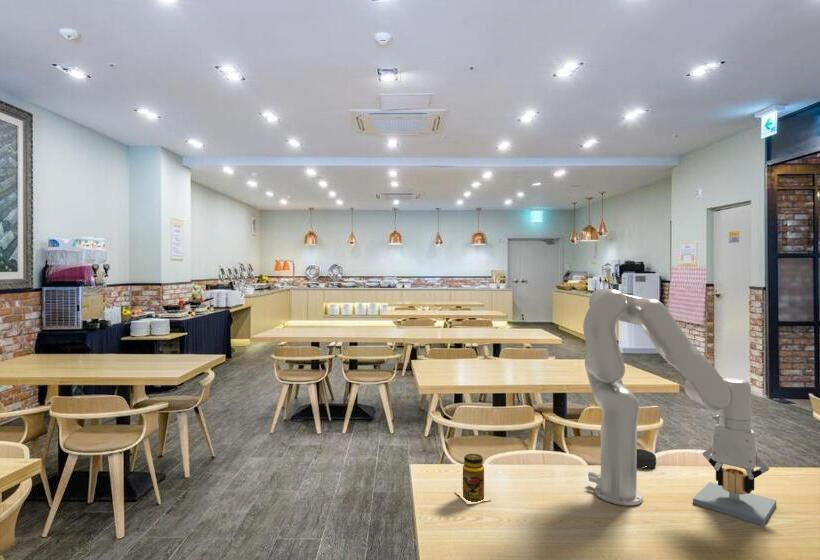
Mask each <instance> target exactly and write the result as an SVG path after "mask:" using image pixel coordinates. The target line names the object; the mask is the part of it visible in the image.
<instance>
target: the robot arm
mask: <svg viewBox="0 0 820 560" xmlns="http://www.w3.org/2000/svg"><path fill="white" fill-rule="evenodd" d="M588 304H589V308H588V309H587V312H586V314H585V315H584V316H585V317H584V320H583V324H582V325H583V327H582V330H583V336H584V340H585V344H586V349H587V353H586V355H585V356H584V357H585V358H584V367H585V371H586V374H587V379H588V381H589V385H590V389H591V393H592V396H593V399H594V401H595V403H596V404H597V405H598V407H599V408H600V409H601V410H602V411H601V413H602V416H601V424H600V474H599V473H596V472H593V471H589V472H588V475H587V477H588V481H589V482H592V483H595V484H596V486H595V488H594V494H595V495H596V496H597V498H600V499H601V500H603V501H605V502H608V503H611V504H614V505H619V506H628V507H629V506H637V505H640V504H641V503H643V500H644V497H643V493H641V491H640V490H638V489H637V487H638V486H637V481H638V480H637V478H638V477H637V475H638V474H637V472H638V471H637V468H638V467H637V449H638V447H637V445H638V444H637V441H638V440H637V438H638V437H637V436H638V435H637V434H638V423H639V415H640V405H639V402H638V399H637V397H636V396H635V395H634V393H633V392H632V391H631V390H630V389H628V388H626V387H625V386H624V384H623V383H624V382H623V377H624V376H625V373H626V367H625V362H624V359H623V356H622V353H621V350H620V346H619V343H618V340H617V339H618V338H617V335H616V324H617V322H622V323H627V324H631V325H632V324H633V325H638V326H640V327H641V329H642V330H643V332H644V333H645V335H646V336H647V337H648V339H649V340H650V341H651V343H652V344H653V347H654V348H655V349H656V351H657V352H658V354H659V355H660V356H661V357H662V358H663V359H664V361H666V362H667V363H668V364H670V365H671V366H673V367H674V368H675V369H676V370H677V371H679V373H681V374H682V375H683V377H684V378H685V379H686V381H685V382H684V385H683V388H684V391H685V393H686V395H687V396H688V397H689V399H690V398H691V400H693V401H695V402H697V403H699V404H701V405H702V406H704V407H705V408H708V409H710V410H714V411H715V410H716V411H717V415H712V417H711V418H712V419H711V420H712V421H715V422H716V423H717V424H715V425H714V428H713V432H712V441H711V447H709V448H708V449H706V450H704V452H702V456H703V458H705V459H706V460H707V461H708V463H709V464H710V465H711V466H712V467H713V469H714V470H715V481H716V482H717V484H718V485H719V486H721V485H722V482H721V469H722V468H723V465H727V466H730V467H734V468H738V469H742V470H743V469H744V471H746V472H747V475H748V478H747V479H746V492H747V493H748V494H750V493H752V491H755V479H756V478H758V477H759V476H761V475H763V474H764V473H766V472H768V471H769V470H770V467H769V465H768V464H767V463H766V462H765V461H764V460H763V459H762V458H761V457H760V456H759V454H758V446H757V444H758V443H757V439H756V433H755V431H754V430H753V429H752V387H751V383H750V382H749V381H748V380H745V379H741V378H736V377H722V376H721V374H720V373H719V372H718V371H717V369H716V368H715V366H713V364H712V363H711V362H710V361H709V359H707V358H706V357H705V356H704V355H703V354H702V352H701V351H700V350H699V349H698V348H697V347H696V346H695V345H694V344H693V343H692V342H691V340H690V339H689V337H687V335H686V334H685V332H684V330H682V328H681V327H680V325H679V324H678V322H677V321H676V319H675V318H674V317H673V315H672V314H671V312H670V311H669V310H668V308H667V307H666V306H665V304H663V302H661V301H660V300H658V299H655V298H647V297H639V296H634V295H631V294H630V295H629V294H625V293H623V292H621V291H620V290H617V289H614V288H599V289H596V290H595V291H594V292H593V293H592V294H591V295H590V297H589V300H588ZM757 465H758V466H760V467H759V468H758V469H756V470H755V468H756V467H757Z"/></svg>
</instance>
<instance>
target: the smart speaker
mask: <svg viewBox="0 0 820 560" xmlns="http://www.w3.org/2000/svg"><path fill="white" fill-rule="evenodd" d="M656 465H657V456H656V455H655V454H654V453H653V452H652V451H650V450H647V449H642V448H641V449H639V448H637V468H639V467H645V466H647V467H645V468H644V469H653V468H655V467H656Z"/></svg>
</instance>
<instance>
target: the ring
mask: <svg viewBox="0 0 820 560" xmlns="http://www.w3.org/2000/svg"><path fill="white" fill-rule="evenodd" d="M747 478H748V475H747V472H746V470H743V469H742V468H738V467H732V466H724V467H722V469H721V482H722V485H721V487H722V488H723V489H724V490H726V491H728V492H731V493H734V494H741V495H743V494H748V493H747V492H746V479H747Z"/></svg>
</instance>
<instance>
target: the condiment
mask: <svg viewBox="0 0 820 560" xmlns="http://www.w3.org/2000/svg"><path fill="white" fill-rule="evenodd" d="M463 459H464V460H463V465H462V491H463V497H464V498H465V499H466V500H468V501H471V502H478V501H481V500H483V499H484V495H485V467H484V463H483V462H484V460H483V459H484V458H483V456H482V455H480V454H478V453H469V454H465V455H464V458H463Z"/></svg>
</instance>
